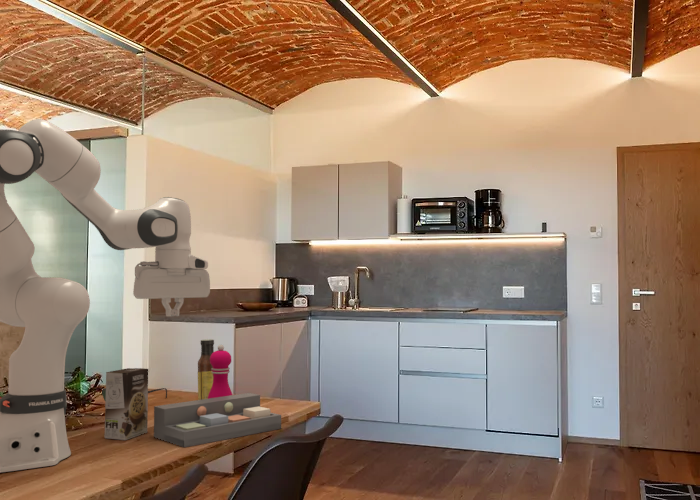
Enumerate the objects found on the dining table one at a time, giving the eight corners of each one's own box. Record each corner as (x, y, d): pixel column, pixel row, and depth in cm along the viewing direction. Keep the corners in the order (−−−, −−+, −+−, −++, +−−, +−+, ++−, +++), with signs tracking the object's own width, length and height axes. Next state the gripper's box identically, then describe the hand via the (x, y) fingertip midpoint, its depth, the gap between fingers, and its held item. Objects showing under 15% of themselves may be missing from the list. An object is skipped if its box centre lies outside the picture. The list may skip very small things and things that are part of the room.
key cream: (254, 419, 176) (254, 411, 176) (243, 416, 180) (243, 408, 180) (270, 416, 179) (270, 409, 180) (258, 414, 183) (258, 406, 183)
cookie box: (126, 440, 166) (127, 372, 167) (103, 438, 168) (104, 371, 169) (148, 432, 175) (149, 368, 175) (127, 430, 177) (127, 367, 177)
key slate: (210, 427, 167) (211, 418, 167) (199, 424, 170) (199, 415, 171) (228, 424, 170) (228, 416, 170) (216, 421, 174) (216, 413, 174)
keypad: (184, 447, 159) (184, 414, 160) (153, 437, 169) (154, 406, 170) (281, 428, 179) (281, 399, 180) (248, 420, 189) (249, 392, 190)
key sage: (187, 437, 162) (187, 428, 162) (175, 433, 166) (176, 425, 166) (205, 433, 166) (205, 425, 166) (194, 430, 169) (194, 422, 169)
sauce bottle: (223, 404, 213) (223, 339, 214) (208, 407, 208) (209, 341, 209) (207, 402, 217) (208, 338, 217) (192, 405, 211) (193, 339, 212)
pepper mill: (227, 419, 191) (228, 346, 192) (202, 418, 192) (203, 345, 193) (237, 414, 198) (237, 343, 199) (213, 413, 200) (213, 343, 200)
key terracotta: (233, 428, 171) (233, 420, 171) (221, 425, 175) (221, 417, 175) (249, 425, 175) (249, 417, 175) (238, 422, 178) (238, 414, 179)
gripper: (141, 261, 168) (140, 318, 167) (213, 262, 182) (213, 315, 181) (129, 261, 172) (128, 317, 172) (200, 262, 186) (200, 314, 186)
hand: (172, 316), depth 177 cm, fingers closed
